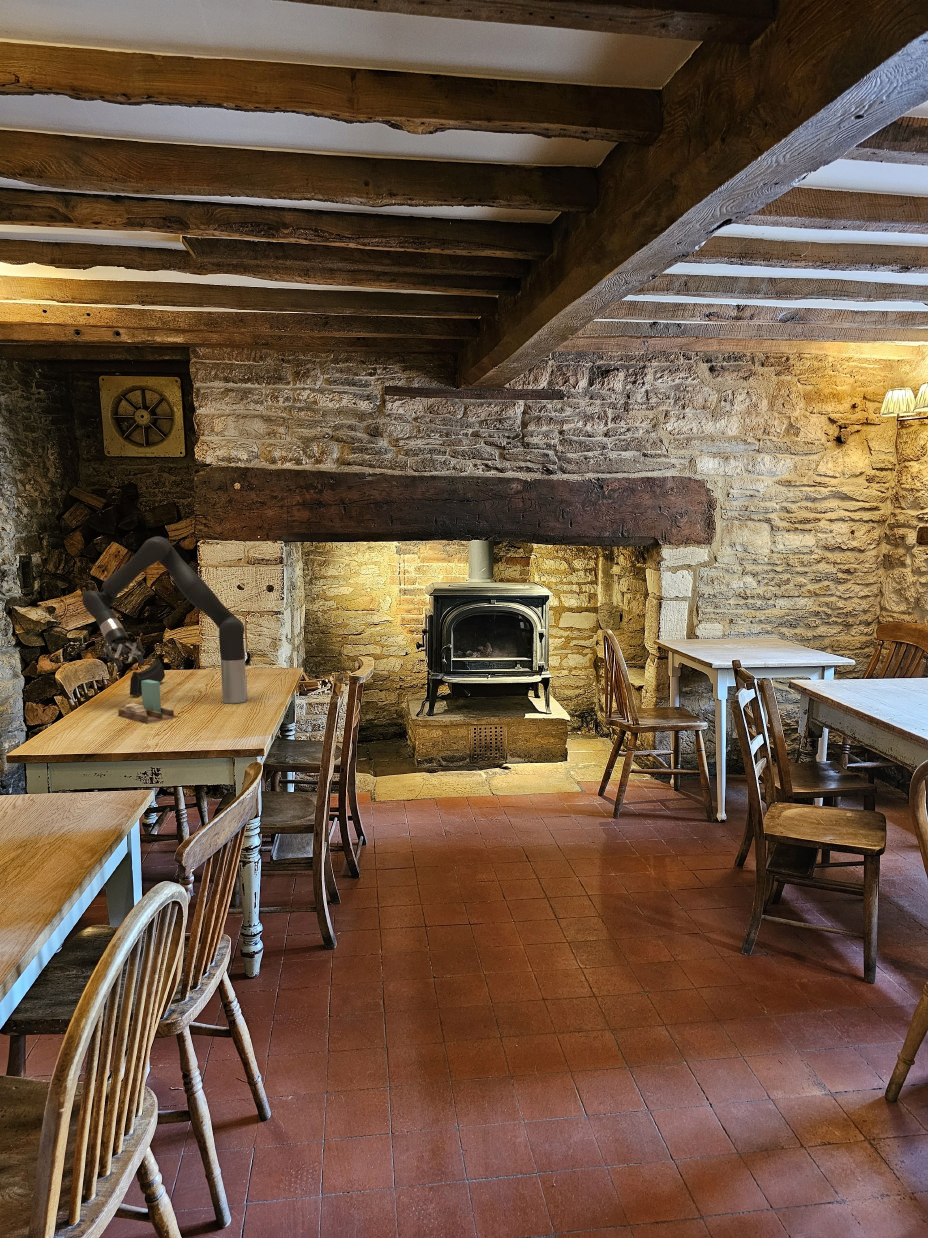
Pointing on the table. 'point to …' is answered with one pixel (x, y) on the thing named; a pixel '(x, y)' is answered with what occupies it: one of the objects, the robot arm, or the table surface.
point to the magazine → (146, 677)
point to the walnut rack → (148, 715)
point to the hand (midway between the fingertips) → (132, 666)
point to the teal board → (151, 695)
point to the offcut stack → (136, 709)
